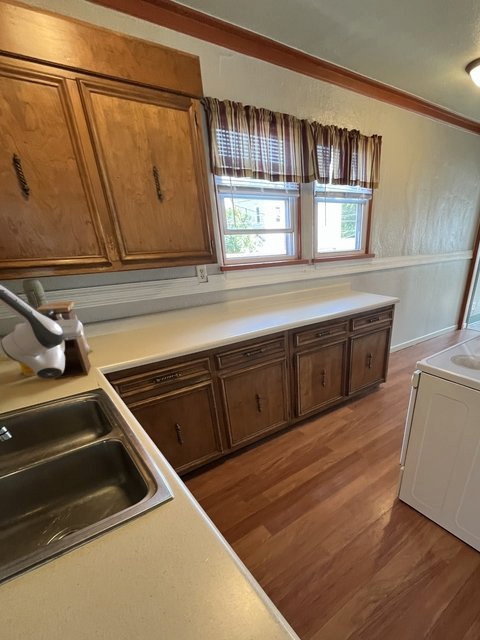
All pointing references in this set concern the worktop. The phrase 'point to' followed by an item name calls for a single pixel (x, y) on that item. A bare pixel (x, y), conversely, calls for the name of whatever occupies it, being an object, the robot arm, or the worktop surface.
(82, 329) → the plastic bottle
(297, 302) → the worktop surface
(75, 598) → the worktop surface
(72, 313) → the nightstand
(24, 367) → the beer can
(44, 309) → the shelf
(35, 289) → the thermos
